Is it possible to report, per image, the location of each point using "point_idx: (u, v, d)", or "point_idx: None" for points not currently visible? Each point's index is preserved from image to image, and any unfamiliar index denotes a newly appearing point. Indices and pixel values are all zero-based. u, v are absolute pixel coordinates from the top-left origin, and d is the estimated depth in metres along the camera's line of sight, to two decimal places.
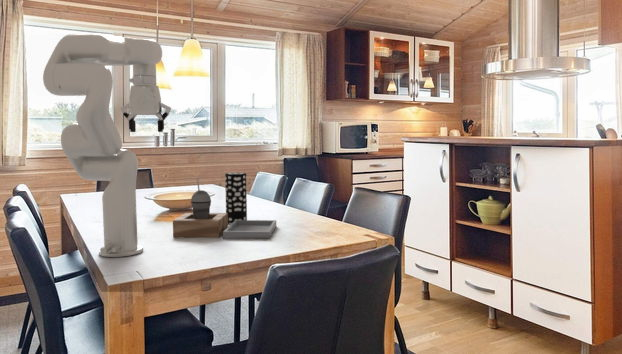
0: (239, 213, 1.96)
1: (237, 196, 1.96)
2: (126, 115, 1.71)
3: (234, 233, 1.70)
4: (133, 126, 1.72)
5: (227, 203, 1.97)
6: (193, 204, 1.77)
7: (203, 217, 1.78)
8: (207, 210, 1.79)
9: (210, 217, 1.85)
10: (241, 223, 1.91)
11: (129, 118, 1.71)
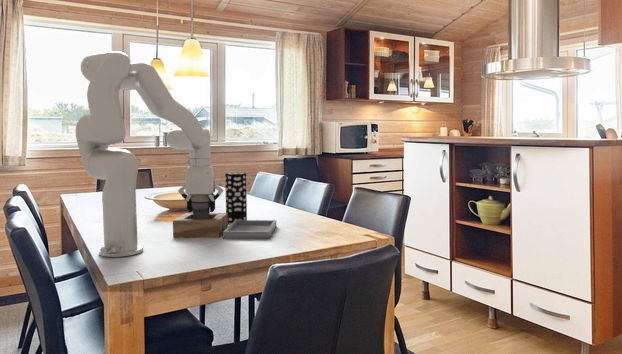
0: (239, 213, 1.96)
1: (237, 196, 1.96)
2: (184, 196, 1.79)
3: (234, 233, 1.70)
4: (191, 206, 1.80)
5: (227, 203, 1.97)
6: (193, 204, 1.77)
7: (203, 217, 1.78)
8: (207, 210, 1.79)
9: (210, 217, 1.85)
10: (241, 223, 1.91)
11: (187, 199, 1.79)
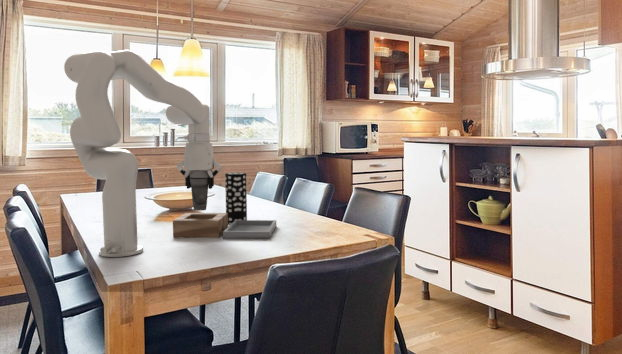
0: (239, 213, 1.96)
1: (237, 196, 1.96)
2: (183, 172, 1.78)
3: (234, 233, 1.70)
4: (189, 183, 1.79)
5: (227, 203, 1.97)
6: (191, 180, 1.76)
7: (201, 193, 1.77)
8: (205, 186, 1.78)
9: (210, 217, 1.85)
10: (241, 223, 1.91)
11: (186, 175, 1.78)
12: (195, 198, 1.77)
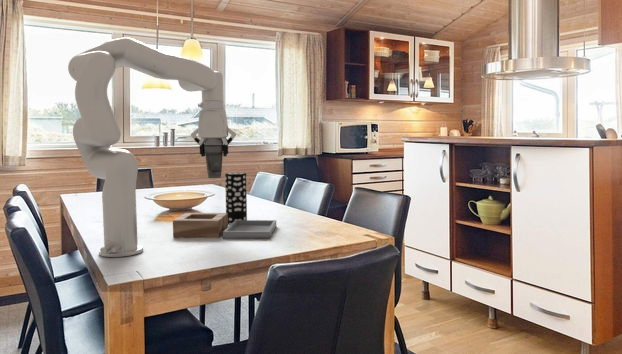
0: (239, 213, 1.96)
1: (237, 196, 1.96)
2: (197, 140, 1.77)
3: (234, 233, 1.70)
4: (203, 151, 1.78)
5: (227, 203, 1.97)
6: (206, 148, 1.76)
7: (216, 161, 1.76)
8: (220, 154, 1.77)
9: (210, 217, 1.85)
10: (241, 223, 1.91)
11: (200, 143, 1.77)
12: (210, 166, 1.76)
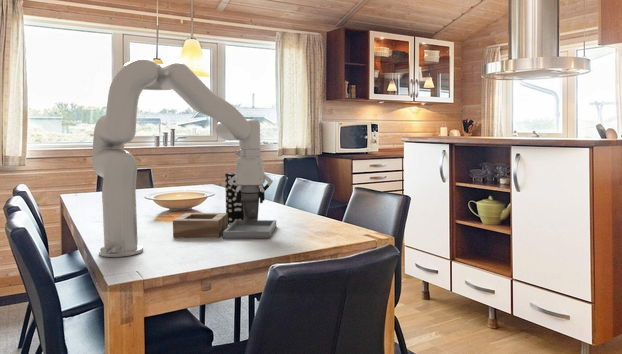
0: (239, 213, 1.96)
1: None
2: (234, 187, 1.79)
3: (234, 233, 1.70)
4: (240, 197, 1.80)
5: (227, 203, 1.97)
6: (243, 195, 1.77)
7: (253, 208, 1.78)
8: (257, 201, 1.79)
9: (210, 217, 1.85)
10: (241, 223, 1.91)
11: (237, 190, 1.79)
12: (247, 212, 1.78)
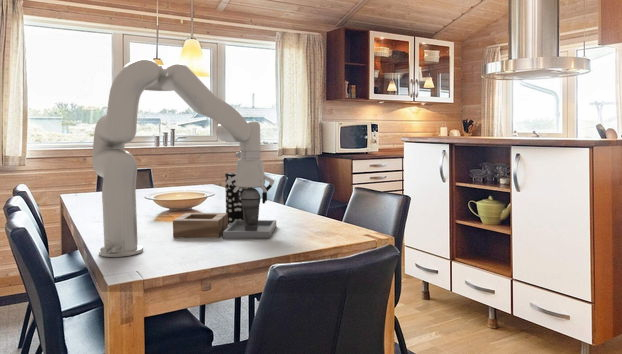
0: (239, 213, 1.96)
1: None
2: (232, 187, 1.79)
3: (234, 233, 1.70)
4: (238, 197, 1.80)
5: (227, 203, 1.97)
6: (243, 201, 1.78)
7: (253, 214, 1.78)
8: (257, 207, 1.79)
9: (210, 217, 1.85)
10: (241, 223, 1.91)
11: (235, 190, 1.79)
12: (247, 219, 1.78)
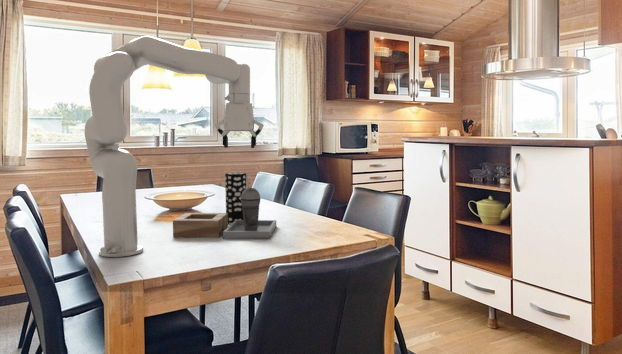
0: (239, 213, 1.96)
1: (237, 196, 1.96)
2: (220, 131, 1.76)
3: (234, 233, 1.70)
4: (226, 142, 1.77)
5: (227, 203, 1.97)
6: (243, 201, 1.77)
7: (253, 214, 1.78)
8: (257, 207, 1.79)
9: (210, 217, 1.85)
10: (241, 223, 1.91)
11: (223, 134, 1.76)
12: (247, 219, 1.78)
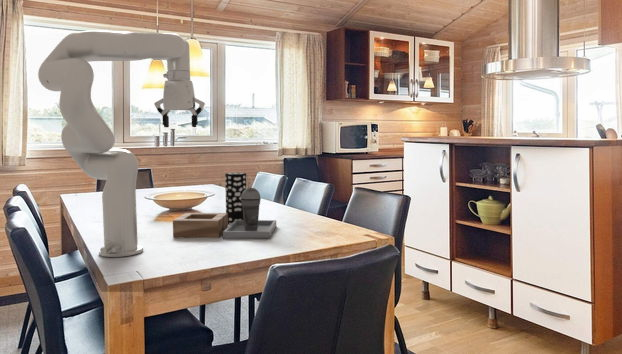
0: (239, 213, 1.96)
1: (237, 196, 1.95)
2: (160, 110, 1.71)
3: (234, 233, 1.70)
4: (167, 121, 1.71)
5: (227, 203, 1.97)
6: (243, 201, 1.78)
7: (253, 214, 1.78)
8: (257, 207, 1.79)
9: (210, 217, 1.85)
10: (241, 223, 1.91)
11: (163, 113, 1.70)
12: (247, 219, 1.78)
